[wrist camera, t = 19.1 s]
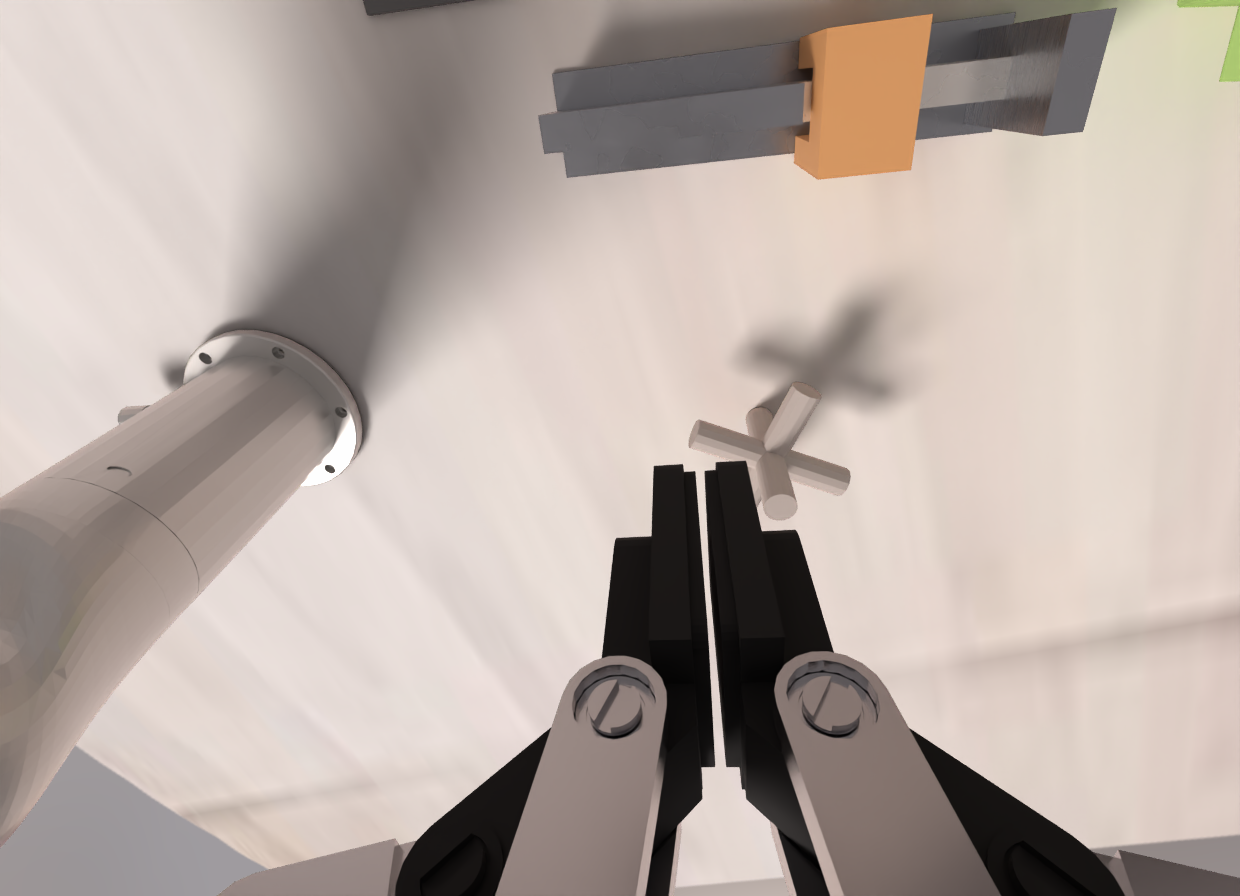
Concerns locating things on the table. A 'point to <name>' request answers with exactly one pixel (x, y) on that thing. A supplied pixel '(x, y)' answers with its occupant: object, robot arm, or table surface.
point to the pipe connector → (774, 452)
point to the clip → (863, 96)
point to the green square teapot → (1236, 61)
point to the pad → (401, 5)
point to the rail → (775, 109)
